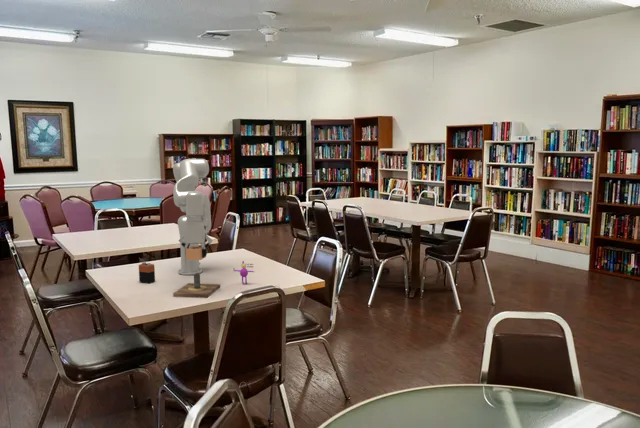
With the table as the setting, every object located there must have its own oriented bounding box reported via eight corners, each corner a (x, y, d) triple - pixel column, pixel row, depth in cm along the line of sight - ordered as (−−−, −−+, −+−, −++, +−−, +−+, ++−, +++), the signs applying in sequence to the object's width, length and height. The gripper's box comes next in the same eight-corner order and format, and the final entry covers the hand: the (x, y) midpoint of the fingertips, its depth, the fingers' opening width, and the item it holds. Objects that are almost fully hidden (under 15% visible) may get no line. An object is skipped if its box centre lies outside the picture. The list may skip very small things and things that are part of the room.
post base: (188, 286, 245) (188, 268, 244) (220, 287, 243) (219, 269, 242) (173, 296, 227) (172, 277, 226) (207, 297, 225) (206, 278, 224)
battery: (145, 280, 257) (144, 261, 255) (155, 281, 254) (154, 262, 253) (139, 282, 253) (138, 263, 251) (149, 283, 250) (148, 264, 249)
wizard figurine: (255, 283, 249) (255, 260, 247) (253, 285, 246) (253, 261, 244) (234, 282, 251) (234, 259, 250) (232, 284, 248) (231, 260, 247)
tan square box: (191, 256, 237) (191, 246, 236) (206, 257, 236) (205, 246, 235) (186, 259, 230) (185, 249, 229) (200, 260, 229) (200, 249, 229)
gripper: (215, 218, 234) (216, 255, 236) (180, 218, 236) (181, 255, 238) (210, 220, 226) (211, 258, 228) (173, 219, 228) (175, 258, 230)
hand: (196, 256), depth 233 cm, fingers closed on tan square box, 7 cm apart
